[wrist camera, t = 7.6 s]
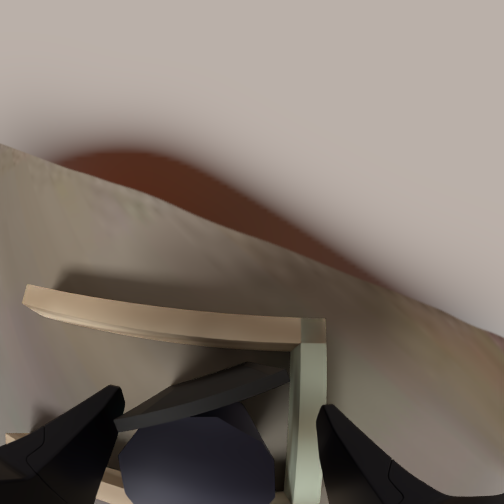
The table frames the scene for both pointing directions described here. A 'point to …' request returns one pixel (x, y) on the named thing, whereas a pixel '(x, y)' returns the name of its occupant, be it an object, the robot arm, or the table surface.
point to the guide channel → (222, 336)
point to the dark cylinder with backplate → (200, 442)
